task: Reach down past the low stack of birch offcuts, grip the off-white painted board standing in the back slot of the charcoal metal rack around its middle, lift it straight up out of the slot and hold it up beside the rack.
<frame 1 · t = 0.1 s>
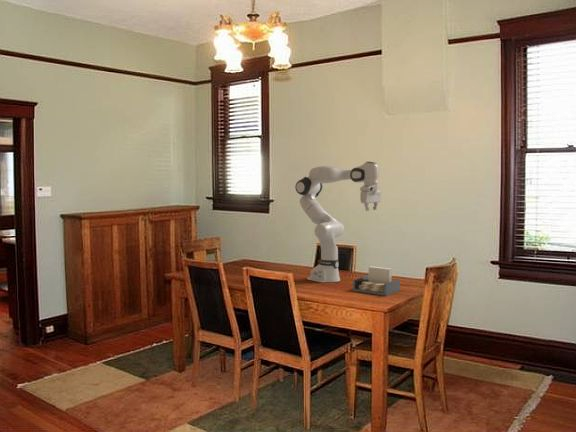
hand: (371, 210, 336), 48 cm above the table, tool pointing down, fingers open, 8 cm apart
offcut stack: (372, 289, 321), point 1 cm above the table, touching rack
rack: (376, 290, 325), on the table
sheet: (379, 287, 328), point 1 cm above the table, touching rack
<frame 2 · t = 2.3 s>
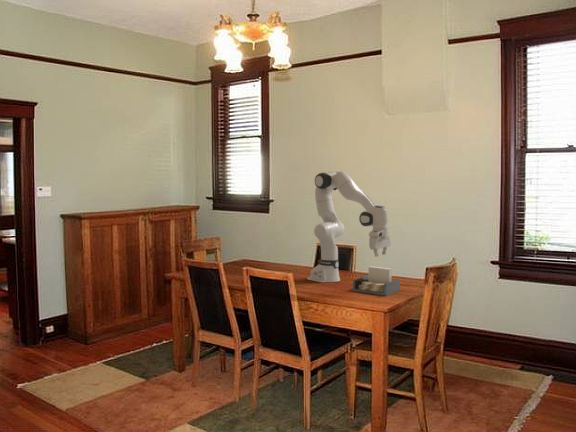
hand: (380, 255, 326), 21 cm above the table, tool pointing down, fingers open, 8 cm apart
nothing on the table moved.
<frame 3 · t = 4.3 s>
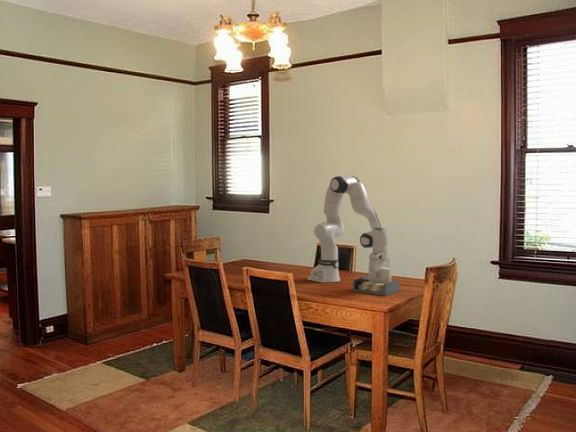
hand: (379, 277, 327), 8 cm above the table, tool pointing down, fingers closed on sheet, 3 cm apart
sheet: (379, 287, 328), point 2 cm above the table, touching gripper, rack
everything else where it was.
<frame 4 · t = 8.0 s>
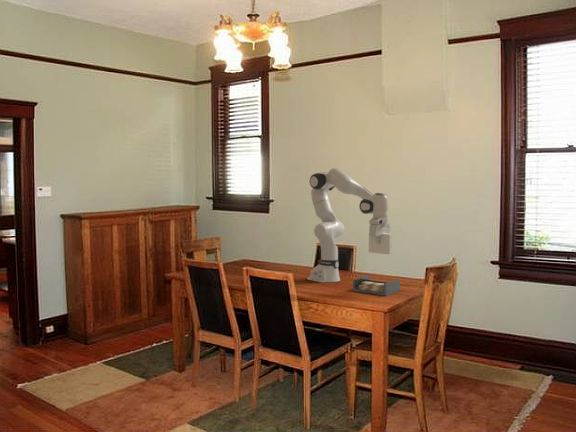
hand: (380, 243, 326), 29 cm above the table, tool pointing down, fingers closed on sheet, 3 cm apart
sheet: (380, 253, 326), point 22 cm above the table, touching gripper
everything else where it was.
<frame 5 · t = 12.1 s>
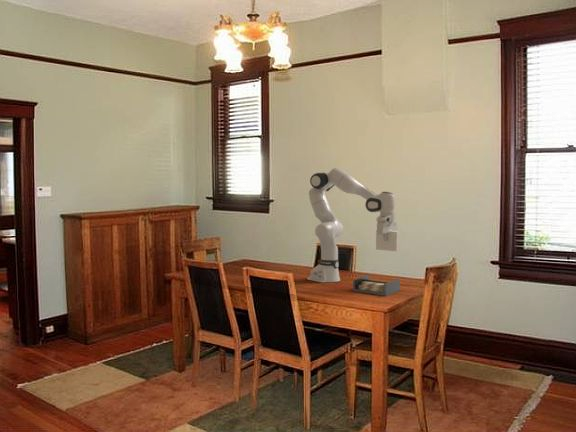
hand: (387, 240, 335), 29 cm above the table, tool pointing down, fingers closed on sheet, 3 cm apart
sheet: (387, 250, 335), point 23 cm above the table, touching gripper
everything else where it was.
at the end: sheet inside the target area (0.1 cm from its centre), point 23.0 cm above the table; the gripper is holding sheet; offcut stack moved 0.0 cm from its start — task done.
